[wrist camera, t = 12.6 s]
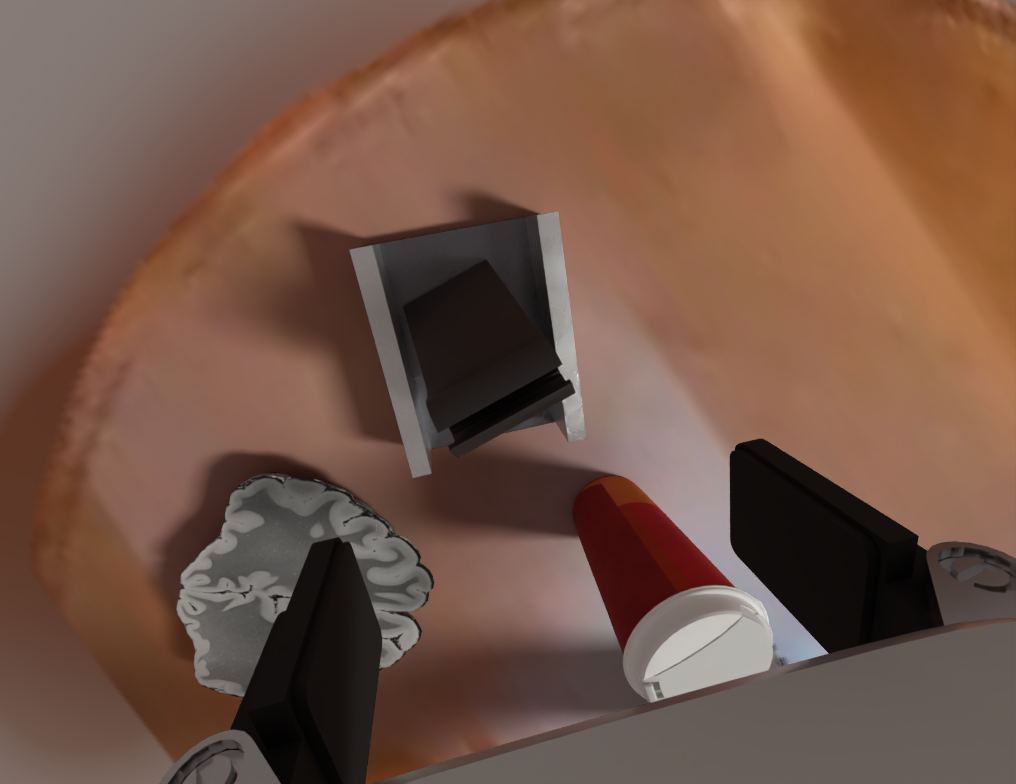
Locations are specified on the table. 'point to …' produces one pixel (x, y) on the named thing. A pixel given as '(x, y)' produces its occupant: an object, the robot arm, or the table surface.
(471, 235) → the guide cradle
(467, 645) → the table surface
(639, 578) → the coffee cup
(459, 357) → the phone stand
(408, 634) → the brain slice
